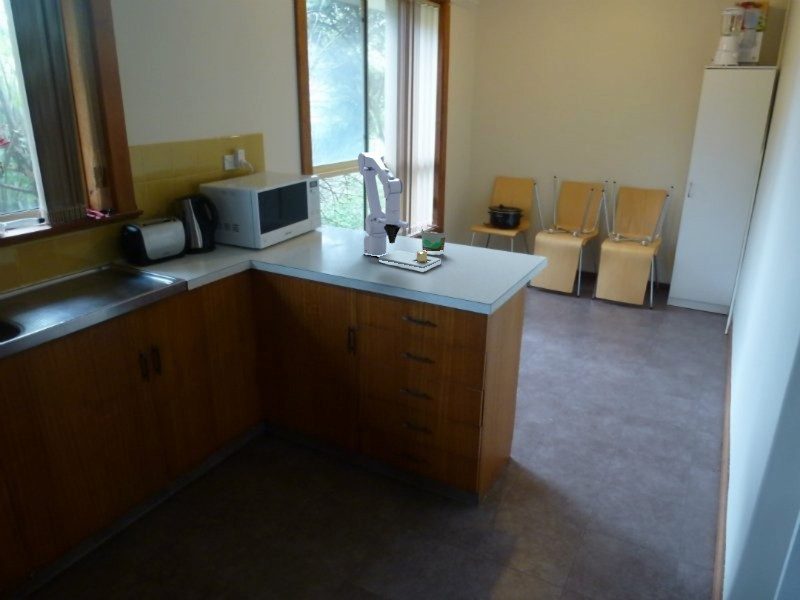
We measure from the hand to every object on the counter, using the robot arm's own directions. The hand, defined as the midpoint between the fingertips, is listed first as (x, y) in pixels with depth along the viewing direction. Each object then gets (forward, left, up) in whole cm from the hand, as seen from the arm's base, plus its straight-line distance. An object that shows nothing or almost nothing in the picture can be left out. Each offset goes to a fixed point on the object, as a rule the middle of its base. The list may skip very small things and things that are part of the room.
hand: (392, 242), depth 240 cm
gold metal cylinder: (+11, +6, -9) cm, 16 cm away
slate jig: (+5, +6, -9) cm, 12 cm away
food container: (+4, +24, -10) cm, 26 cm away
